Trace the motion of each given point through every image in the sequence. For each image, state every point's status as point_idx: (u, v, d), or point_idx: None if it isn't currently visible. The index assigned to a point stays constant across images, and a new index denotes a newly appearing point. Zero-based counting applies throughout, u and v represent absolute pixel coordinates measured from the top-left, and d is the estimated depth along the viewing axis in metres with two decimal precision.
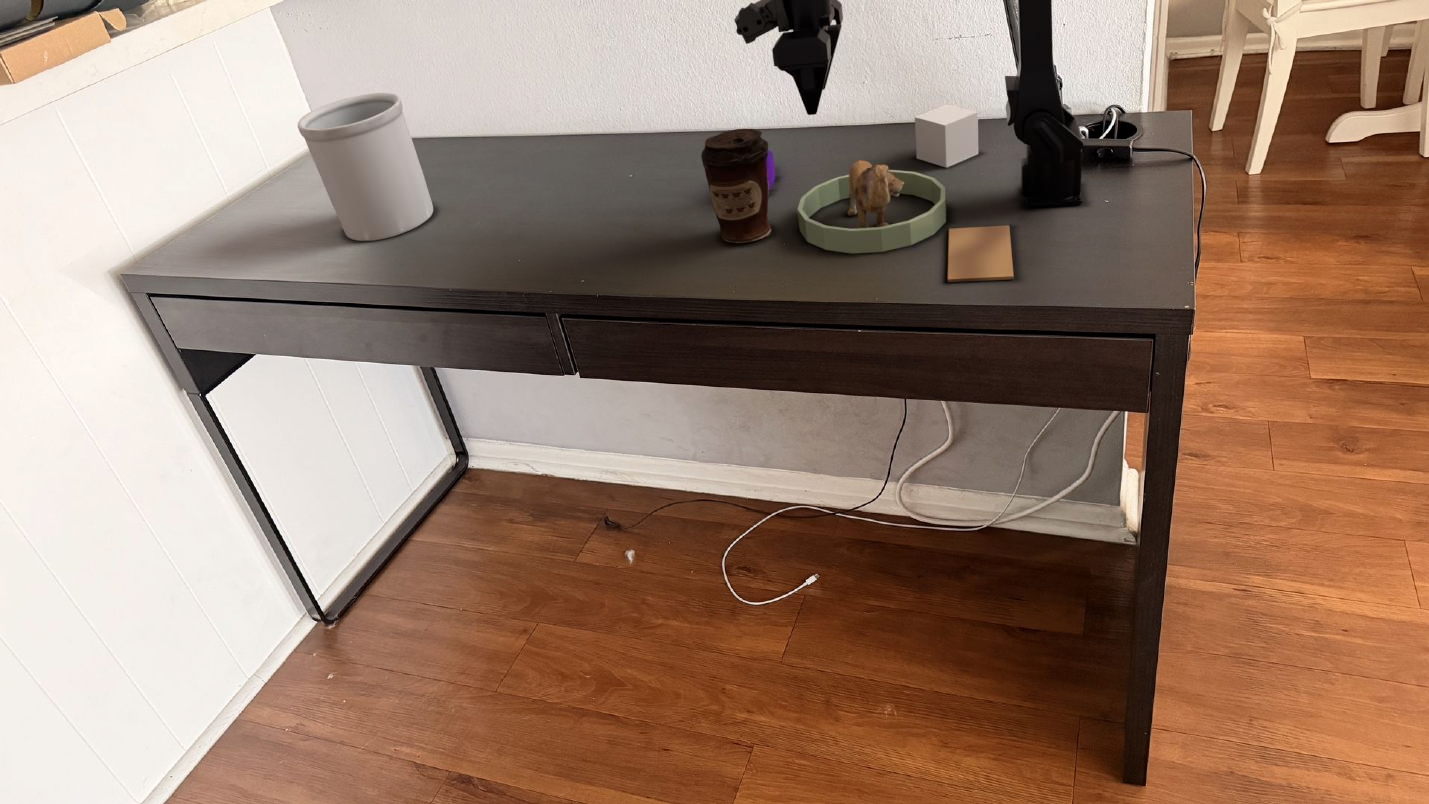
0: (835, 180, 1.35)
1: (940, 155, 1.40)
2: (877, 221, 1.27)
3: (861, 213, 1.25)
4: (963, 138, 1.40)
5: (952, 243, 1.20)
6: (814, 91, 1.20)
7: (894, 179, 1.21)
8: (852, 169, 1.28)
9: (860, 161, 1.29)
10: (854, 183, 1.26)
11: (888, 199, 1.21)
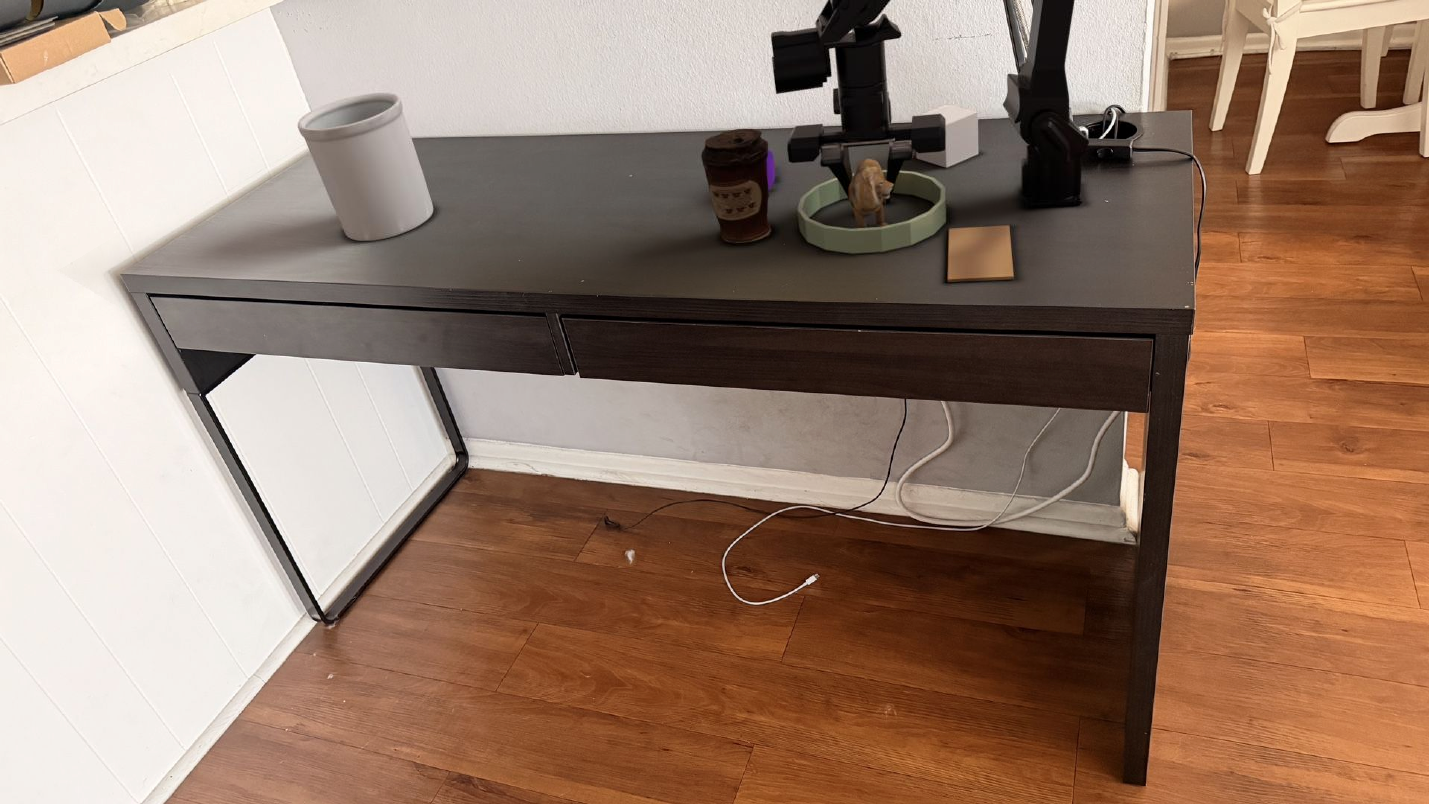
0: (835, 180, 1.35)
1: (940, 155, 1.40)
2: (876, 222, 1.27)
3: (857, 214, 1.25)
4: (963, 138, 1.40)
5: (952, 243, 1.20)
6: None
7: (882, 181, 1.20)
8: (857, 168, 1.28)
9: (866, 160, 1.28)
10: None
11: (876, 201, 1.21)
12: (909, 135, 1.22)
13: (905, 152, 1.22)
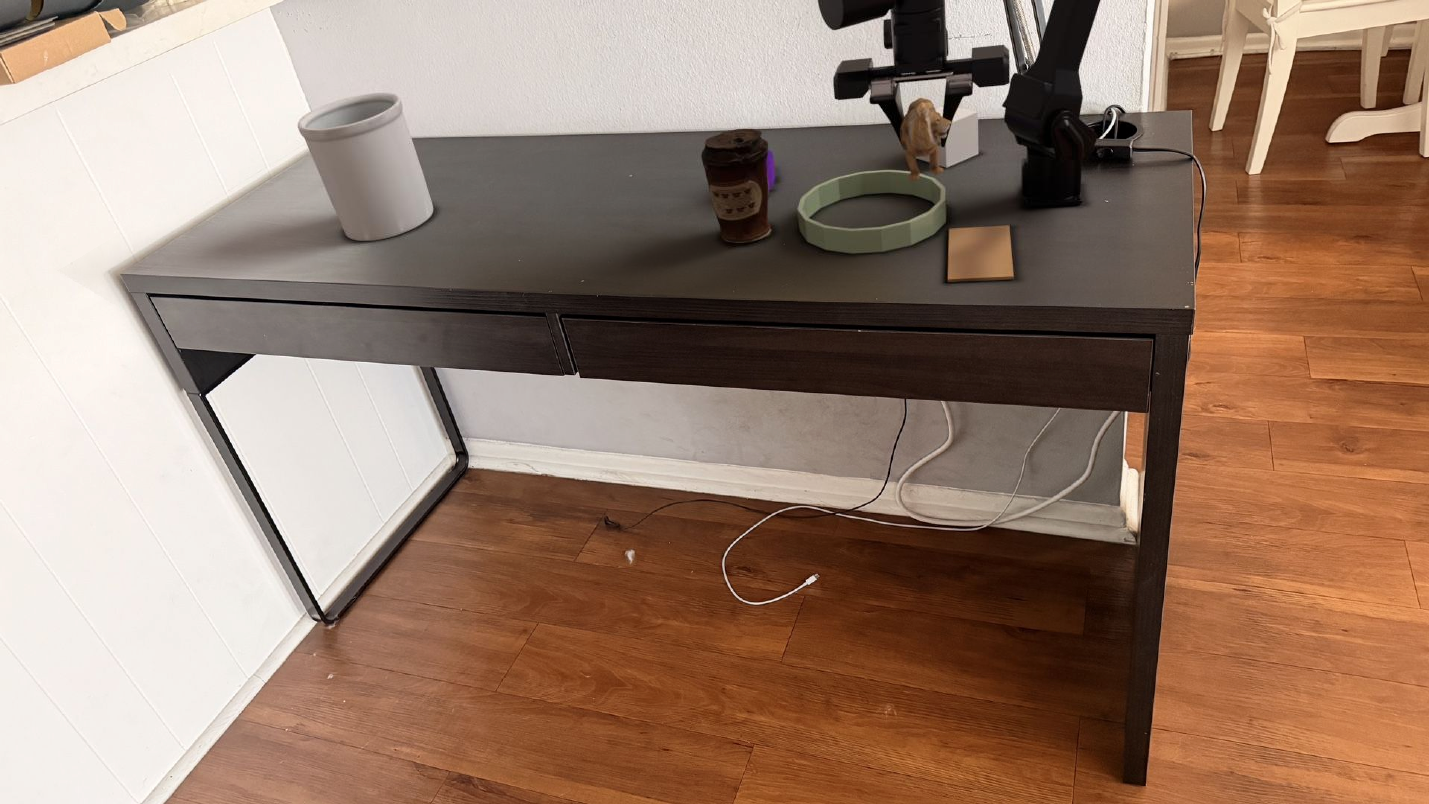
0: (835, 180, 1.35)
1: (940, 155, 1.40)
2: (930, 166, 1.15)
3: (909, 157, 1.14)
4: (963, 138, 1.40)
5: (952, 243, 1.20)
6: None
7: (939, 118, 1.09)
8: (909, 108, 1.17)
9: (919, 99, 1.17)
10: None
11: (932, 141, 1.09)
12: (968, 68, 1.11)
13: (964, 87, 1.11)
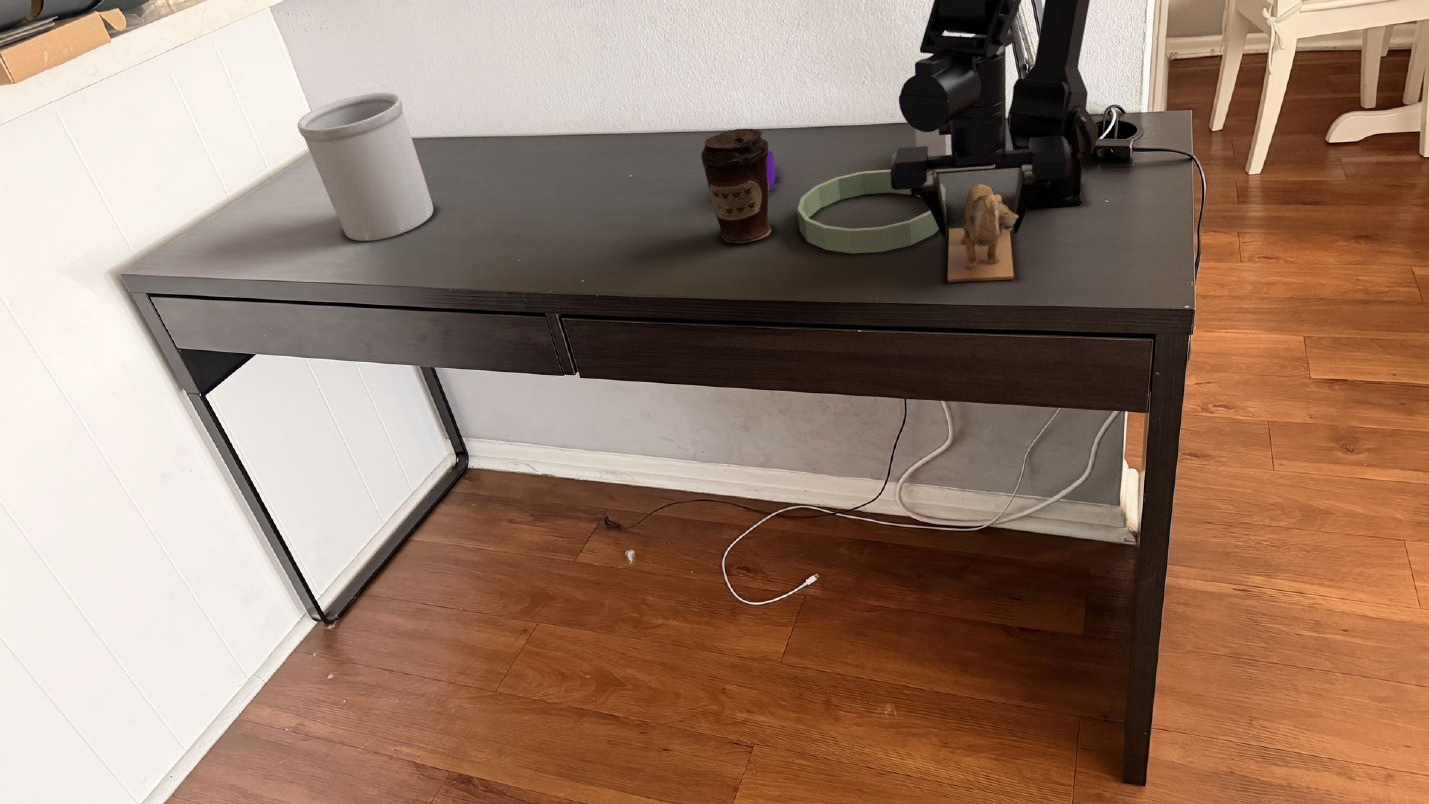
0: (835, 180, 1.35)
1: (940, 155, 1.40)
2: (988, 254, 1.14)
3: (969, 245, 1.13)
4: None
5: (952, 243, 1.20)
6: None
7: (1006, 212, 1.08)
8: (969, 194, 1.16)
9: (979, 185, 1.16)
10: (967, 210, 1.14)
11: (997, 233, 1.09)
12: None
13: None
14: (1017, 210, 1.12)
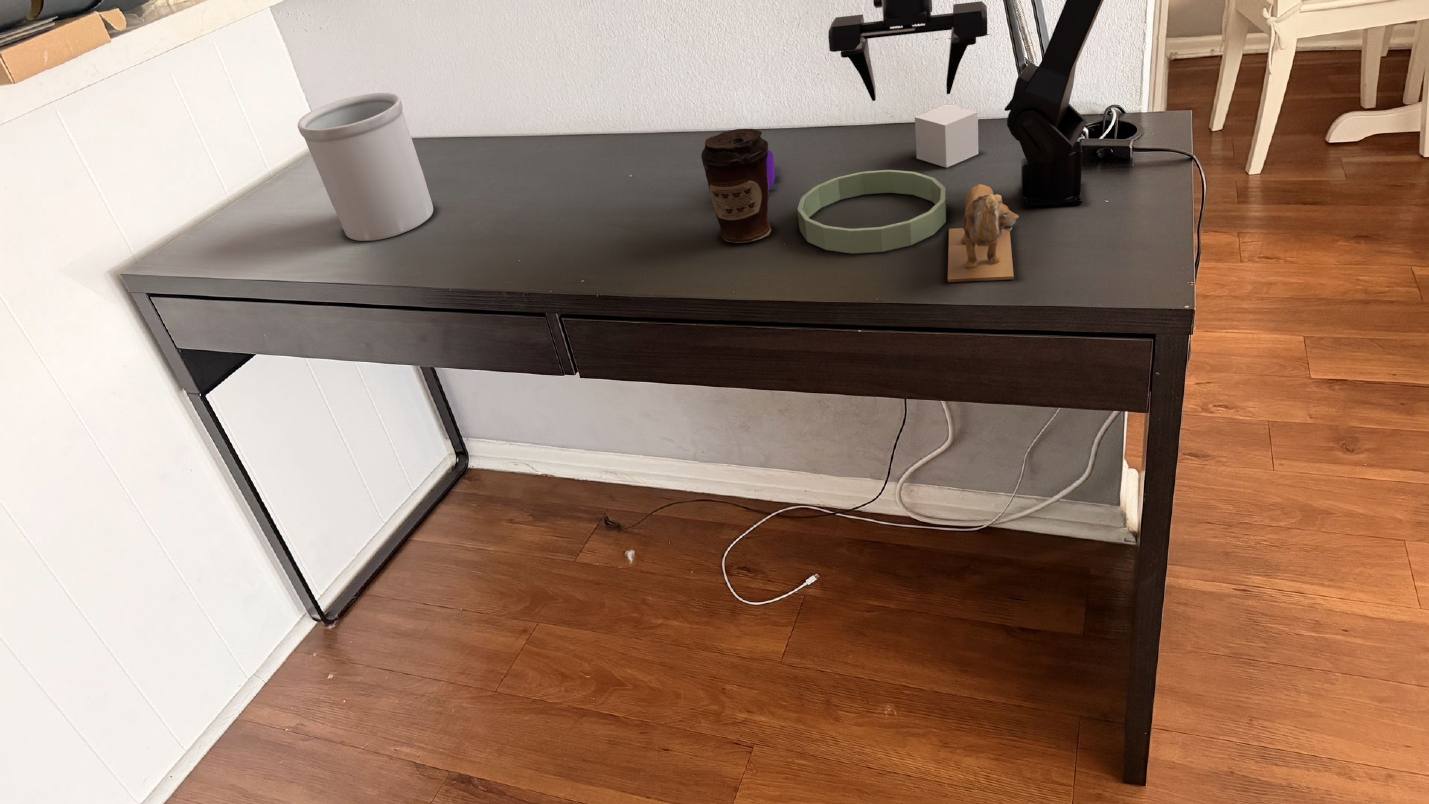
0: (835, 180, 1.35)
1: (940, 155, 1.40)
2: (988, 254, 1.14)
3: (969, 245, 1.13)
4: (963, 138, 1.40)
5: (952, 243, 1.20)
6: None
7: (1006, 212, 1.08)
8: (969, 193, 1.16)
9: (979, 185, 1.16)
10: (967, 210, 1.14)
11: (997, 233, 1.09)
12: None
13: None
14: (949, 69, 1.24)
